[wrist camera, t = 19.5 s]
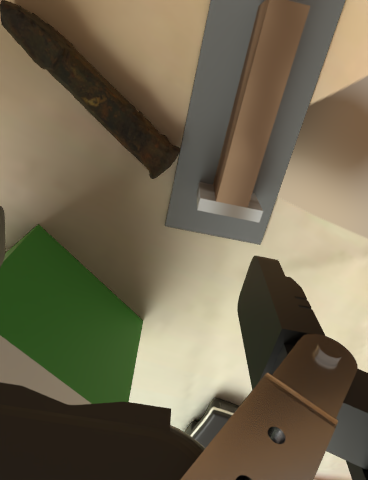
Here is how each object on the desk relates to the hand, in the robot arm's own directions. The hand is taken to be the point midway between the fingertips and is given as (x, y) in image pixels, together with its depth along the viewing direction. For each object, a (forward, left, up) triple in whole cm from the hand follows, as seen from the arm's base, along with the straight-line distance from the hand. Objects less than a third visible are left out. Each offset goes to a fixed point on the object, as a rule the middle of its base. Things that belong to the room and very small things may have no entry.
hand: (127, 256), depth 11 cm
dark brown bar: (-7, +1, -27) cm, 28 cm away
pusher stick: (+7, +3, -26) cm, 27 cm away
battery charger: (+16, -36, -25) cm, 47 cm away
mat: (+7, +2, -26) cm, 27 cm away
